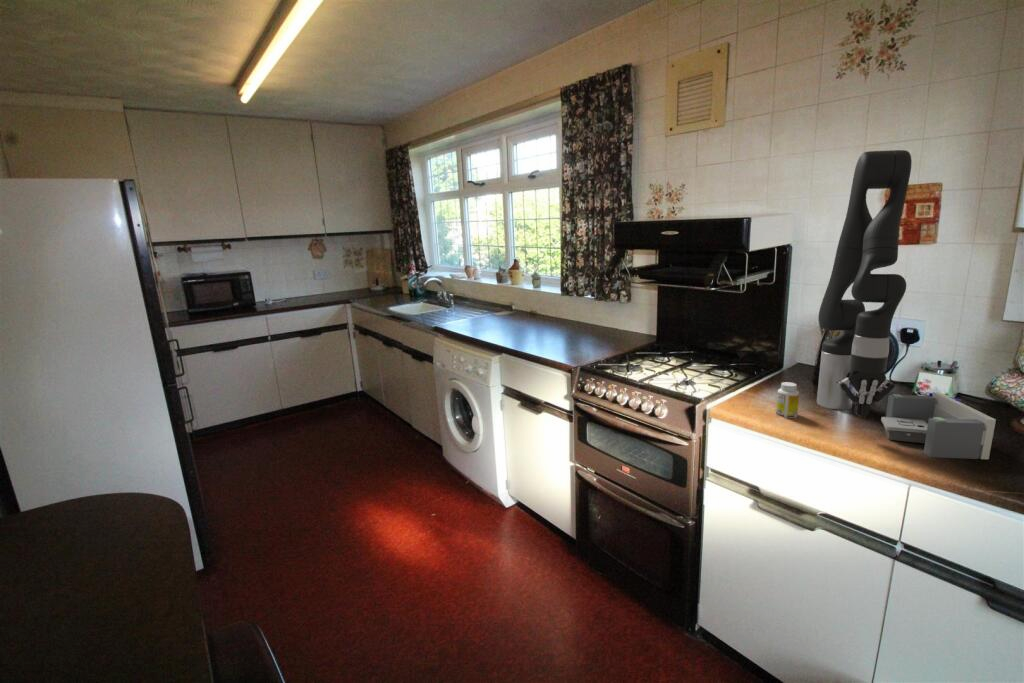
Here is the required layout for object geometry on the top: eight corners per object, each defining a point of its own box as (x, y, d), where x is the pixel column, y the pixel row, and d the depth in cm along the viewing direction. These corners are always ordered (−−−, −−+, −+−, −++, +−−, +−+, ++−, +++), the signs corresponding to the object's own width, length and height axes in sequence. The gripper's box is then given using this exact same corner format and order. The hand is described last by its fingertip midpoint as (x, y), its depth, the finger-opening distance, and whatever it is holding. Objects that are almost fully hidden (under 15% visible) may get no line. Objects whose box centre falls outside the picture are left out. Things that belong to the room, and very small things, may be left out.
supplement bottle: (798, 415, 143) (801, 383, 141) (794, 421, 139) (797, 388, 137) (778, 411, 147) (780, 380, 144) (773, 417, 143) (776, 384, 140)
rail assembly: (884, 425, 133) (889, 391, 131) (933, 426, 131) (939, 392, 129) (930, 457, 115) (936, 418, 112) (988, 459, 112) (996, 419, 110)
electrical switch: (934, 431, 118) (888, 420, 123) (928, 450, 120) (883, 439, 124) (926, 420, 126) (883, 410, 131) (920, 438, 128) (877, 428, 132)
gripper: (890, 348, 123) (881, 411, 127) (833, 348, 126) (826, 409, 130) (908, 356, 116) (897, 422, 120) (847, 356, 119) (839, 420, 123)
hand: (860, 415), depth 125 cm, fingers closed
